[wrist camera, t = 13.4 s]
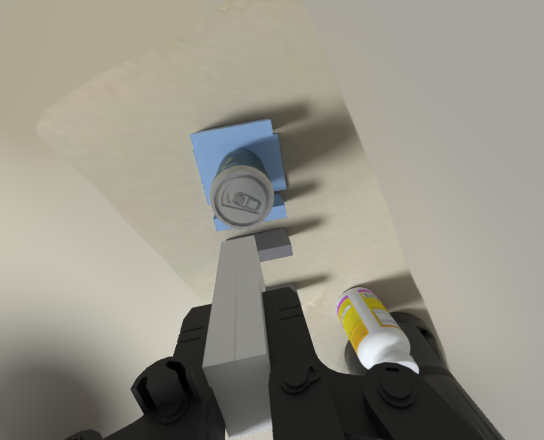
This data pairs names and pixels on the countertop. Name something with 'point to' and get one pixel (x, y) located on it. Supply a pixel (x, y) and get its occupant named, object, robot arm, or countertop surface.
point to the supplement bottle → (373, 330)
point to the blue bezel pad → (261, 147)
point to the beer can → (241, 190)
